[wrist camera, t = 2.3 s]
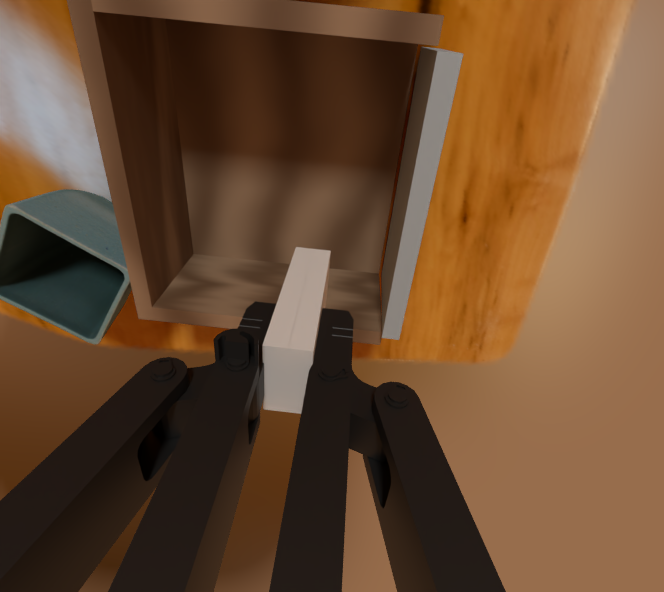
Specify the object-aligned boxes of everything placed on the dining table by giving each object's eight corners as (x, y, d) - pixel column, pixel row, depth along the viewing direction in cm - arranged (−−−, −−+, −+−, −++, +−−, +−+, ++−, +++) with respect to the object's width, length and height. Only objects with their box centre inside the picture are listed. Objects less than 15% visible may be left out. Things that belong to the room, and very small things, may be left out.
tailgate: (381, 274, 36) (381, 337, 28) (421, 46, 26) (437, 51, 19) (395, 275, 36) (398, 339, 28) (439, 48, 26) (463, 53, 19)
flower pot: (146, 289, 40) (96, 348, 33) (58, 240, 38) (-18, 292, 30) (181, 223, 36) (133, 274, 28) (85, 164, 34) (4, 201, 26)
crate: (185, 259, 38) (138, 318, 30) (151, -6, 27) (61, -23, 19) (376, 279, 38) (380, 344, 30) (420, 21, 27) (443, 15, 19)
